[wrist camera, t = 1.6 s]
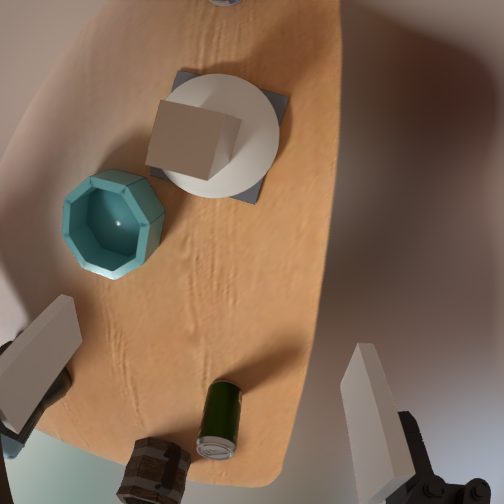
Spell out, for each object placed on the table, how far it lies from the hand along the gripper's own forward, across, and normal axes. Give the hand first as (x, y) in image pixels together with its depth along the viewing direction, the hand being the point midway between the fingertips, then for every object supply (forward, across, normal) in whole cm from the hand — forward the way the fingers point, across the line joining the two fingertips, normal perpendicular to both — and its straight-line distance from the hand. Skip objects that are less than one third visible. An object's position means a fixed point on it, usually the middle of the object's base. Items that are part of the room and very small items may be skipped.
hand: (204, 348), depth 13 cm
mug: (+22, -12, -53) cm, 58 cm away
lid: (+22, -4, +8) cm, 24 cm away
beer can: (+23, 0, -28) cm, 36 cm away
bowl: (+22, -15, -2) cm, 27 cm away
